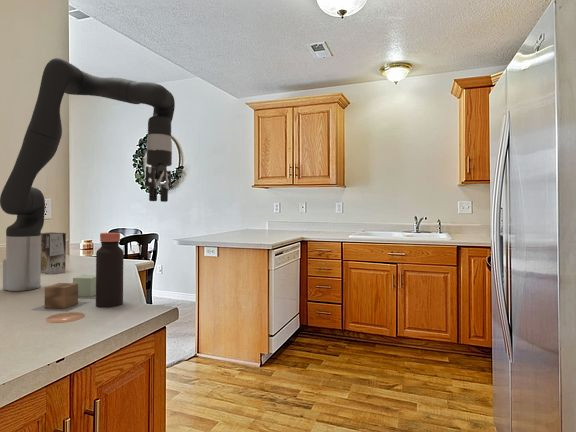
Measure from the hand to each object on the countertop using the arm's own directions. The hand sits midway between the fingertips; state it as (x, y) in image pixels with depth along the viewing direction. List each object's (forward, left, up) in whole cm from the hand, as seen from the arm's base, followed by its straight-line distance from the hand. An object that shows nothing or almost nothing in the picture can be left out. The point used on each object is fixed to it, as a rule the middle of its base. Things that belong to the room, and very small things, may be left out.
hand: (158, 201), depth 118 cm
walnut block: (-18, -20, -29) cm, 39 cm away
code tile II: (-19, -7, -29) cm, 36 cm away
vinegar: (-6, -17, -29) cm, 35 cm away
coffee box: (-57, +30, -29) cm, 71 cm away
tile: (-18, -20, -29) cm, 40 cm away
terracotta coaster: (-10, -30, -29) cm, 43 cm away
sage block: (-19, -7, -29) cm, 35 cm away
